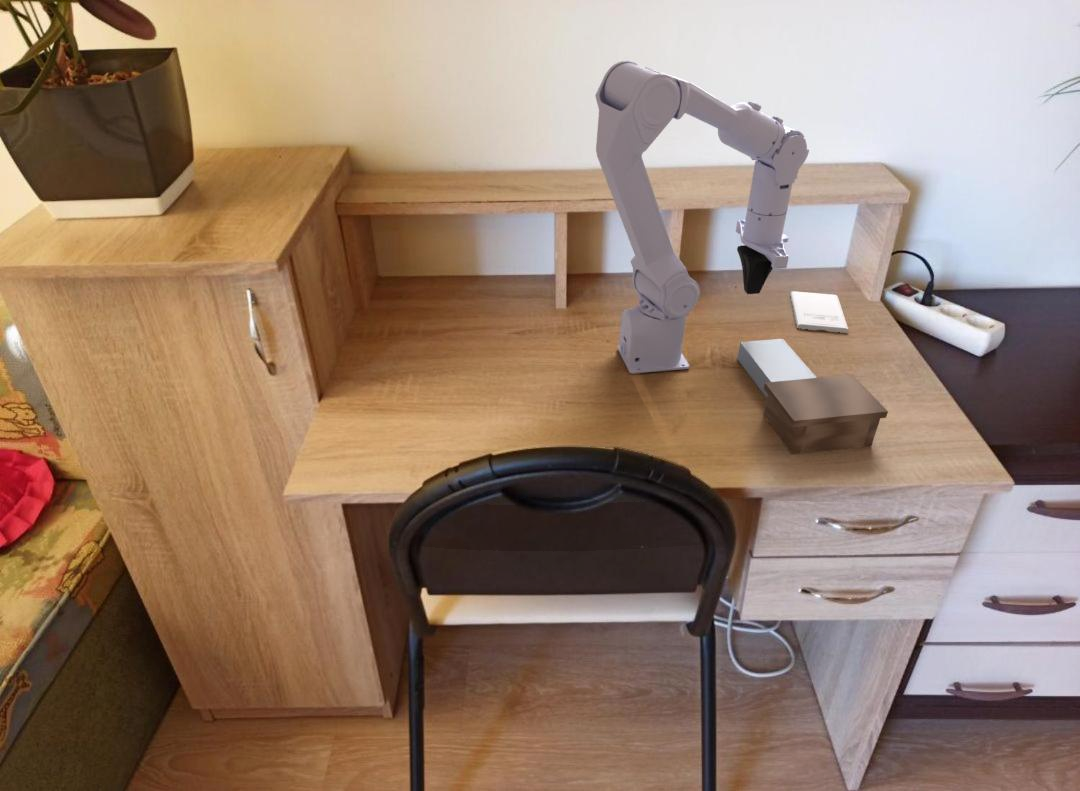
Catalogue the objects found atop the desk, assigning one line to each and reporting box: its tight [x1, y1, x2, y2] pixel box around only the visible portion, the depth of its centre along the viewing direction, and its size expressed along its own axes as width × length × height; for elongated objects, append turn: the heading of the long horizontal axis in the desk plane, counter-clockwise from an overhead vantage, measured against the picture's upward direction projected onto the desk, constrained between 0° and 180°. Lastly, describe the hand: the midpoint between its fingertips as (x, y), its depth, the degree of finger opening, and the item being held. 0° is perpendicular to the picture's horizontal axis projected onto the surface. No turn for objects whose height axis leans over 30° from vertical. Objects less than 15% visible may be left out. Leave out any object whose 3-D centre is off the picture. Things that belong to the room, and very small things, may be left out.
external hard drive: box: [789, 290, 849, 334], centre depth 132 cm, size 2×8×12 cm
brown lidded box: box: [763, 374, 889, 455], centre depth 102 cm, size 13×9×6 cm
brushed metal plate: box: [736, 338, 818, 399], centre depth 113 cm, size 7×14×3 cm, turn 10°
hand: (751, 292), depth 120 cm, fingers closed
